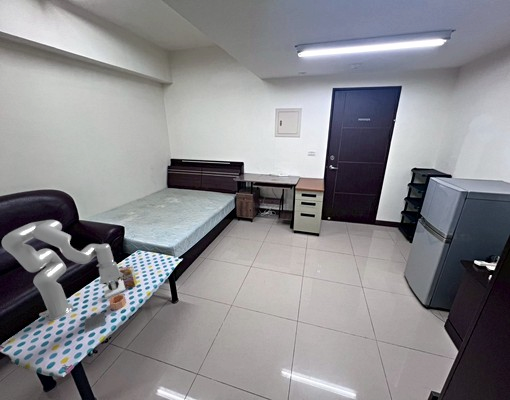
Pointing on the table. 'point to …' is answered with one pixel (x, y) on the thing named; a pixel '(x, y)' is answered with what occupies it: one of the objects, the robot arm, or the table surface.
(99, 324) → the mat
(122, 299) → the bowl
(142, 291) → the table surface
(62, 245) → the robot arm
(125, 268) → the candy box
